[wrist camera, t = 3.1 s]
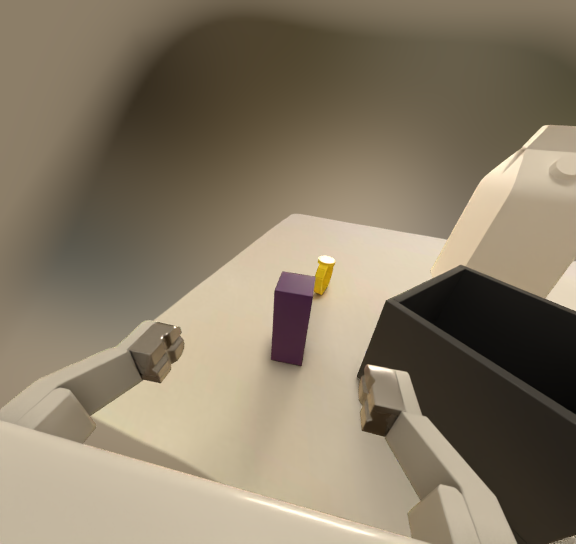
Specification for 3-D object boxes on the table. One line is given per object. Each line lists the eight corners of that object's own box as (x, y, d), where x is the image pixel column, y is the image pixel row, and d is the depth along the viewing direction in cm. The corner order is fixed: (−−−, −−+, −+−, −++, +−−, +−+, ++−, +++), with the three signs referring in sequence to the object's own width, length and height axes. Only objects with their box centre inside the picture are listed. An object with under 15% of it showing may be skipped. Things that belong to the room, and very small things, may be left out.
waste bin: (524, 552, 15) (690, 499, 9) (356, 376, 25) (385, 300, 19) (569, 424, 22) (676, 352, 16) (425, 329, 32) (460, 264, 26)
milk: (495, 284, 45) (598, 132, 31) (527, 322, 35) (694, 126, 22) (430, 271, 48) (498, 126, 34) (443, 302, 38) (544, 119, 25)
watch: (322, 301, 36) (329, 270, 33) (307, 296, 37) (311, 264, 34) (333, 284, 40) (340, 255, 37) (319, 279, 41) (324, 250, 38)
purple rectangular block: (301, 366, 25) (312, 296, 20) (270, 359, 26) (274, 290, 21) (305, 342, 28) (315, 276, 23) (277, 336, 29) (282, 271, 24)
